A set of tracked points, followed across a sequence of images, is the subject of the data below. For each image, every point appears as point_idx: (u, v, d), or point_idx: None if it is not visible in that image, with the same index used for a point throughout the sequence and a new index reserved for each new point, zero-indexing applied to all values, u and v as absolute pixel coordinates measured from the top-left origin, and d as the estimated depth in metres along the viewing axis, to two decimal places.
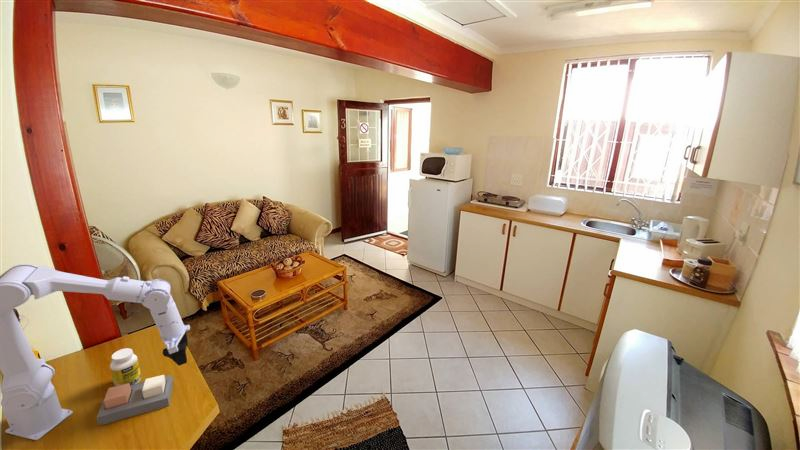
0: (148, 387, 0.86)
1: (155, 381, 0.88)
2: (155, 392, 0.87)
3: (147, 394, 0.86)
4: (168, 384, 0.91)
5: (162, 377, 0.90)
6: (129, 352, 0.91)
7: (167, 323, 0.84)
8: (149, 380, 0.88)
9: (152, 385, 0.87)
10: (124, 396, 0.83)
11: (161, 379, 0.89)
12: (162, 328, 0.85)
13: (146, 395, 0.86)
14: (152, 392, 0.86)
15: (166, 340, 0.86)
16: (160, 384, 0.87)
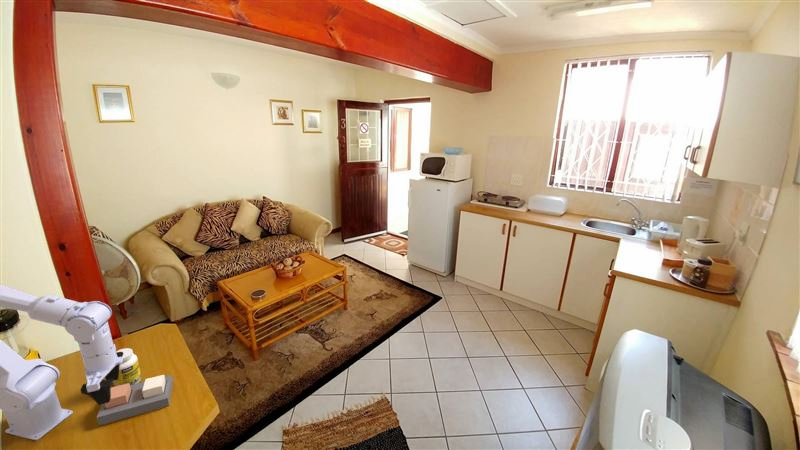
0: (148, 387, 0.86)
1: (155, 381, 0.88)
2: (155, 392, 0.87)
3: (147, 394, 0.86)
4: (168, 384, 0.91)
5: (162, 377, 0.90)
6: (129, 352, 0.91)
7: (89, 355, 0.73)
8: (149, 380, 0.88)
9: (152, 385, 0.87)
10: (124, 396, 0.83)
11: (161, 379, 0.89)
12: (87, 359, 0.73)
13: (146, 395, 0.86)
14: (152, 392, 0.86)
15: (89, 374, 0.74)
16: (160, 384, 0.87)
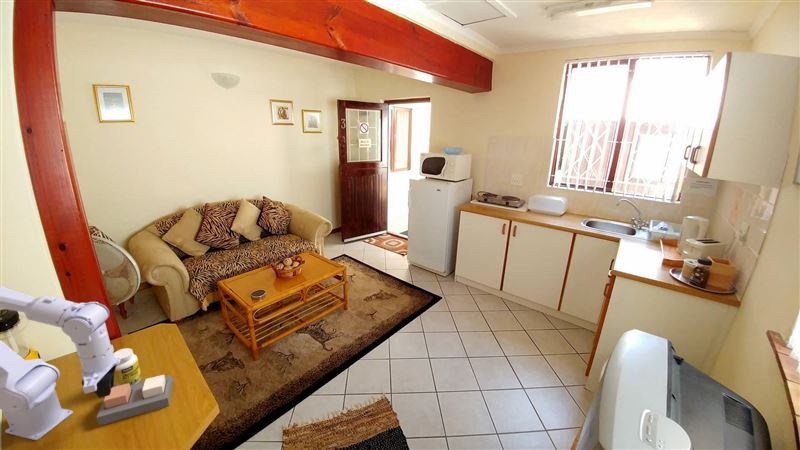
0: (148, 387, 0.86)
1: (155, 381, 0.88)
2: (155, 392, 0.87)
3: (147, 394, 0.86)
4: (168, 384, 0.91)
5: (162, 377, 0.90)
6: (129, 352, 0.91)
7: (86, 356, 0.72)
8: (149, 380, 0.88)
9: (152, 385, 0.87)
10: (124, 396, 0.83)
11: (161, 379, 0.89)
12: (84, 360, 0.73)
13: (146, 395, 0.86)
14: (152, 392, 0.86)
15: (86, 375, 0.74)
16: (160, 384, 0.87)
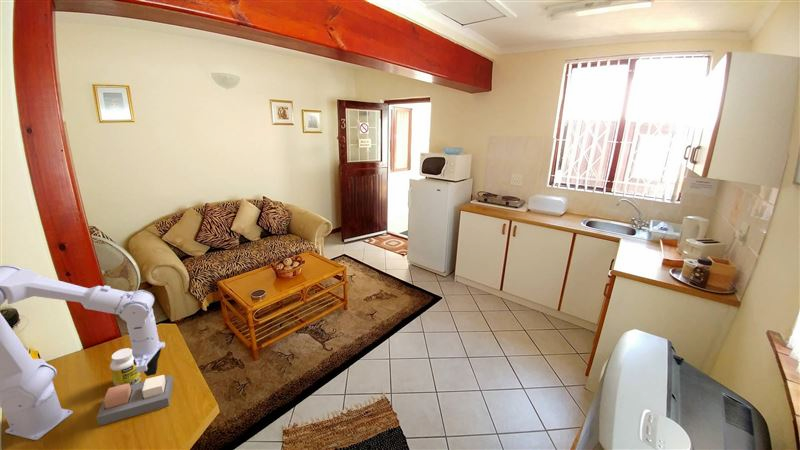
0: (148, 387, 0.86)
1: (155, 381, 0.88)
2: (155, 392, 0.87)
3: (147, 394, 0.86)
4: (168, 384, 0.91)
5: (162, 377, 0.90)
6: (129, 352, 0.91)
7: (141, 339, 0.80)
8: (149, 380, 0.88)
9: (152, 385, 0.87)
10: (124, 396, 0.83)
11: (161, 379, 0.89)
12: (135, 343, 0.80)
13: (146, 395, 0.86)
14: (152, 392, 0.86)
15: (137, 356, 0.81)
16: (160, 384, 0.87)
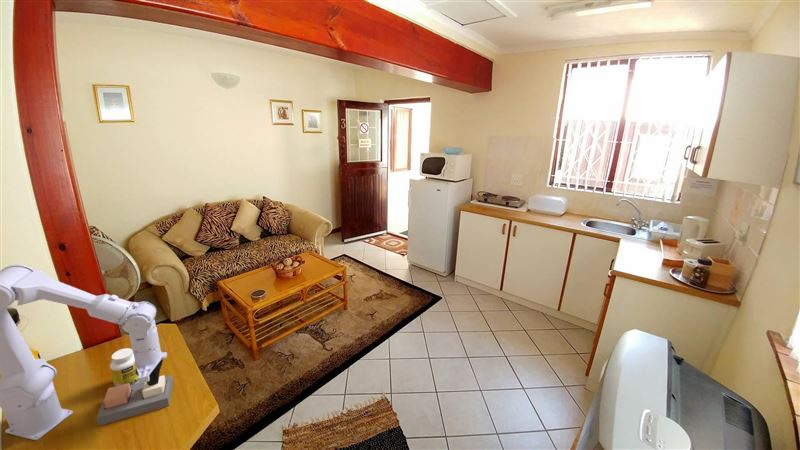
0: (148, 388, 0.86)
1: None
2: (155, 393, 0.87)
3: (148, 394, 0.86)
4: (168, 384, 0.91)
5: (162, 378, 0.90)
6: (129, 352, 0.91)
7: (143, 350, 0.81)
8: None
9: (152, 386, 0.87)
10: (124, 396, 0.83)
11: (161, 380, 0.89)
12: (138, 354, 0.81)
13: (146, 396, 0.86)
14: (152, 393, 0.86)
15: (139, 367, 0.82)
16: (160, 385, 0.87)
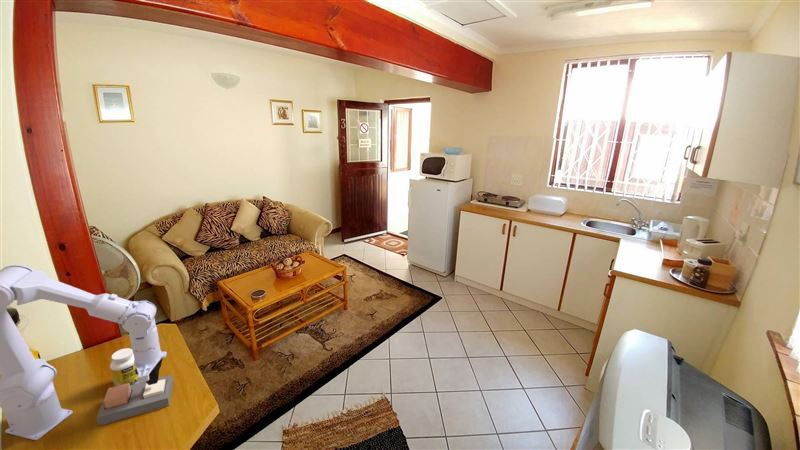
0: (149, 392, 0.87)
1: (156, 386, 0.89)
2: None
3: None
4: (168, 384, 0.91)
5: (163, 381, 0.90)
6: (129, 352, 0.91)
7: (143, 349, 0.81)
8: (150, 385, 0.89)
9: (153, 390, 0.87)
10: (124, 396, 0.83)
11: (162, 383, 0.89)
12: (137, 353, 0.81)
13: None
14: None
15: (139, 366, 0.82)
16: (161, 389, 0.88)
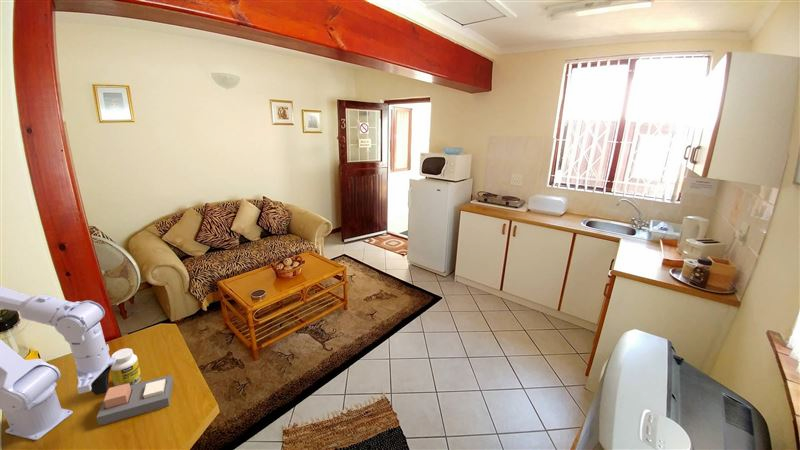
0: (149, 392, 0.87)
1: (156, 386, 0.89)
2: None
3: None
4: (168, 384, 0.91)
5: (163, 381, 0.90)
6: (129, 352, 0.91)
7: (80, 356, 0.71)
8: (150, 385, 0.89)
9: (153, 390, 0.87)
10: (124, 396, 0.83)
11: (162, 383, 0.89)
12: (78, 360, 0.72)
13: None
14: None
15: (81, 375, 0.72)
16: (161, 389, 0.88)
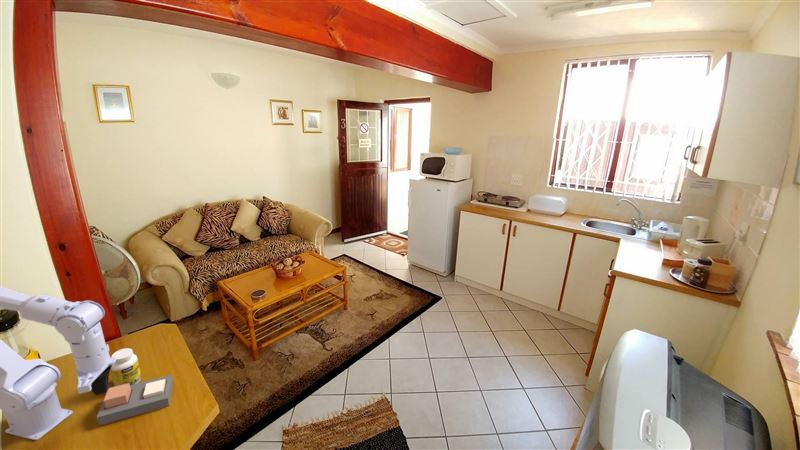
0: (149, 392, 0.87)
1: (156, 386, 0.89)
2: None
3: None
4: (168, 384, 0.91)
5: (163, 381, 0.90)
6: (129, 352, 0.91)
7: (80, 356, 0.71)
8: (150, 385, 0.89)
9: (153, 390, 0.87)
10: (124, 396, 0.83)
11: (162, 383, 0.89)
12: (78, 360, 0.72)
13: None
14: None
15: (81, 375, 0.72)
16: (161, 389, 0.88)
